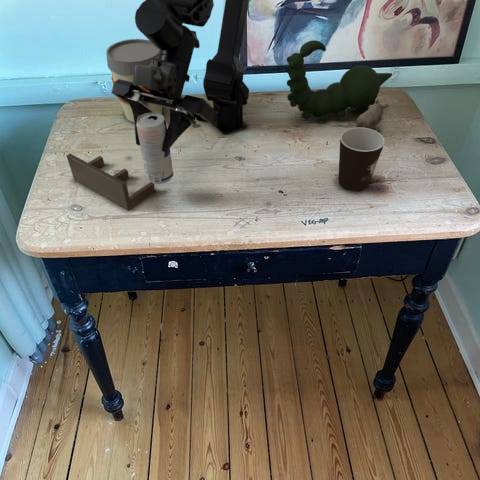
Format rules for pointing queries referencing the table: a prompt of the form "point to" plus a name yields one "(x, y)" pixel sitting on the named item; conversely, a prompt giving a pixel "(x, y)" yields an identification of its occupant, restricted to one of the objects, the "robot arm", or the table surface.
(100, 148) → the table surface
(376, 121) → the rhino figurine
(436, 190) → the table surface
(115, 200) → the brown legged board
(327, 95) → the toy figurine
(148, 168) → the energy drink
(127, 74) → the reusable coffee cup
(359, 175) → the coffee mug
